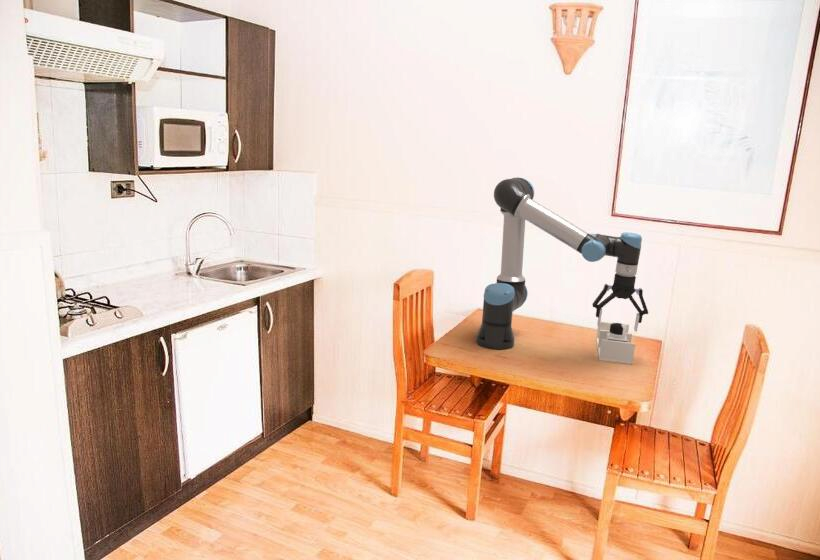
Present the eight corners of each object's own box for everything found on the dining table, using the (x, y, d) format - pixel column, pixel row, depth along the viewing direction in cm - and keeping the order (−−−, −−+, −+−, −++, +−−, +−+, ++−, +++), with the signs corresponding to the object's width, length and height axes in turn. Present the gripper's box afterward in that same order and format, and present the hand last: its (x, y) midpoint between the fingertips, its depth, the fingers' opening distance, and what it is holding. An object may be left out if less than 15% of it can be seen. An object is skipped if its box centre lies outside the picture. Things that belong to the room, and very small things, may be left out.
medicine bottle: (605, 355, 238) (609, 326, 235) (604, 349, 244) (608, 320, 242) (625, 358, 236) (629, 328, 233) (623, 351, 243) (627, 322, 240)
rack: (599, 360, 236) (601, 340, 234) (596, 339, 259) (598, 321, 257) (632, 364, 233) (635, 344, 231) (626, 342, 257) (628, 324, 255)
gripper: (591, 272, 232) (583, 326, 237) (662, 280, 226) (652, 335, 232) (590, 268, 239) (583, 320, 244) (659, 276, 234) (649, 329, 239)
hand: (616, 328), depth 238 cm, fingers open, 13 cm apart
